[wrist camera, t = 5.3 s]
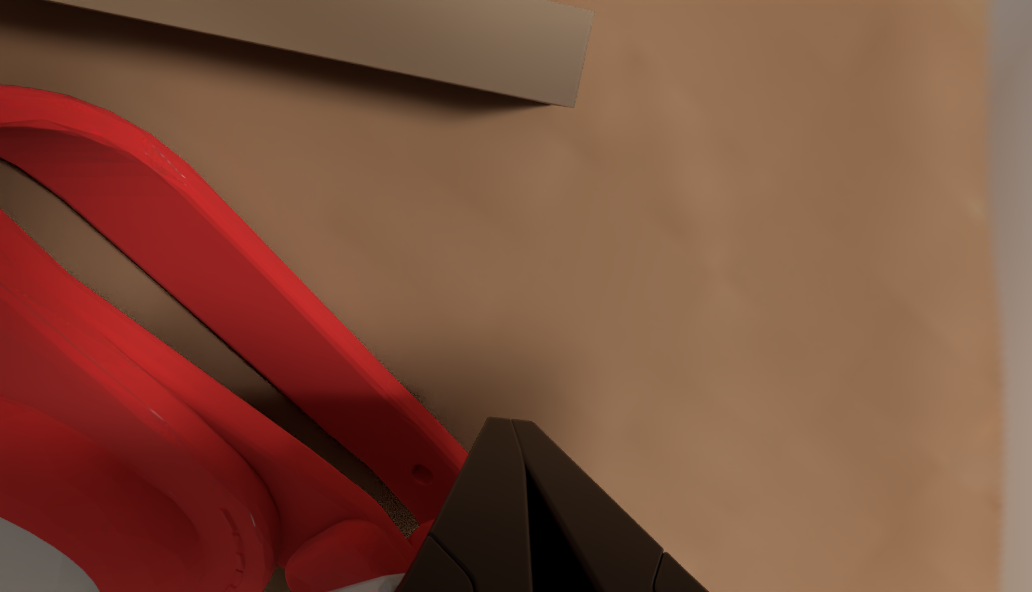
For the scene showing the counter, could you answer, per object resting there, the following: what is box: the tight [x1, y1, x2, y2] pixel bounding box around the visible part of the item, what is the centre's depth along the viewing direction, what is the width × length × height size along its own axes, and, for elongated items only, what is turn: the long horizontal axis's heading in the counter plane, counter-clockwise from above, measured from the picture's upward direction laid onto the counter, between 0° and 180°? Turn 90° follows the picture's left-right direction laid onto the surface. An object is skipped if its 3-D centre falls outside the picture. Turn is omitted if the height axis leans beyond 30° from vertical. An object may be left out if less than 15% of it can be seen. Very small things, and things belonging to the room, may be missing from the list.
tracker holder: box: [0, 85, 468, 592], centre depth 8 cm, size 12×4×10 cm
